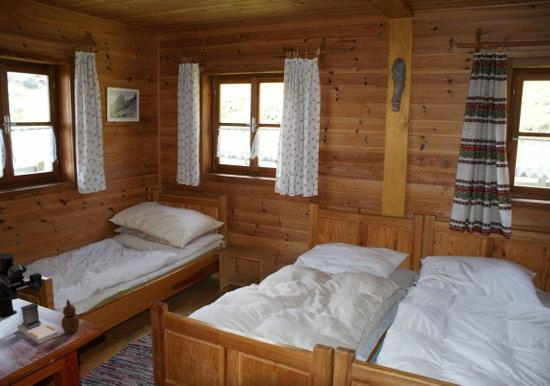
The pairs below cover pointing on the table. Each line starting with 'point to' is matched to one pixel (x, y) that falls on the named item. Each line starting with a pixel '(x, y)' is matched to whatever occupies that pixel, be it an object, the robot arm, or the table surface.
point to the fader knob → (30, 315)
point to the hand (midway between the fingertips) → (28, 294)
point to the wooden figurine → (70, 319)
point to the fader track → (39, 332)
